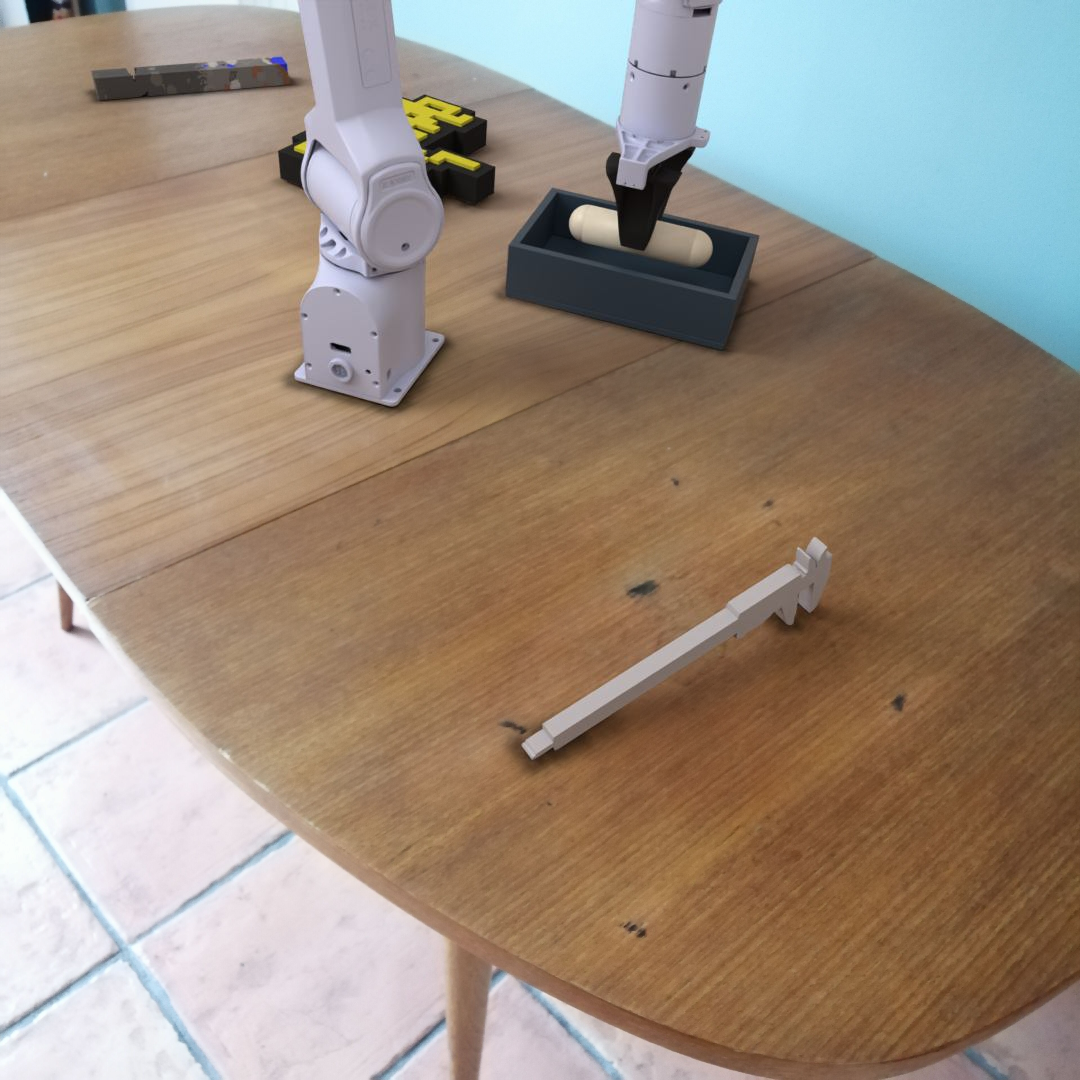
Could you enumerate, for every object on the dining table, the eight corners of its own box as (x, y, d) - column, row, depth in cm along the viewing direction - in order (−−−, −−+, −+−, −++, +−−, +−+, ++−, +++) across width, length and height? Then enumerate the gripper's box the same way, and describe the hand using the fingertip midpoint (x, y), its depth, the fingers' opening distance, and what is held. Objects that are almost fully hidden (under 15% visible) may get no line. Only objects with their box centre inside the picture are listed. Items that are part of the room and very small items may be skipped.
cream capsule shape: (704, 278, 81) (712, 244, 79) (562, 244, 83) (566, 210, 81) (711, 261, 83) (719, 227, 81) (573, 228, 85) (577, 195, 83)
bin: (723, 350, 80) (735, 299, 77) (504, 296, 83) (508, 244, 80) (747, 283, 88) (759, 234, 84) (547, 235, 91) (552, 187, 88)
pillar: (91, 70, 103) (284, 56, 110) (95, 92, 104) (286, 76, 112) (94, 78, 102) (290, 63, 109) (99, 100, 103) (291, 84, 110)
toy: (268, 144, 92) (399, 82, 105) (272, 178, 94) (399, 114, 107) (430, 203, 86) (547, 131, 99) (429, 238, 89) (544, 163, 101)
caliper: (801, 601, 61) (831, 526, 56) (814, 613, 60) (845, 538, 56) (520, 748, 52) (530, 672, 47) (532, 764, 51) (543, 688, 47)
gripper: (701, 109, 67) (666, 290, 76) (739, 43, 77) (704, 210, 86) (599, 88, 68) (577, 269, 77) (650, 25, 78) (625, 192, 87)
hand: (638, 237), depth 82 cm, fingers closed on cream capsule shape, 3 cm apart
